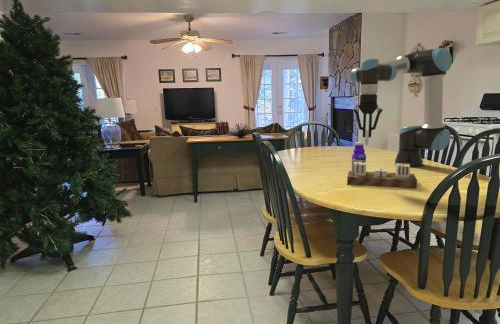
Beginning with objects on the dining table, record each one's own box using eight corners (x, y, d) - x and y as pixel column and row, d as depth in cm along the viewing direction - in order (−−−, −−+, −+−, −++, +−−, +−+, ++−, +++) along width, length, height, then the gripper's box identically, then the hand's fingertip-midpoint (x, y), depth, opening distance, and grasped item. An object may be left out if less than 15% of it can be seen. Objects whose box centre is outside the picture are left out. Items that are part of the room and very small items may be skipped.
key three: (396, 178, 153) (397, 165, 152) (395, 175, 158) (396, 162, 157) (409, 179, 151) (410, 165, 150) (408, 176, 156) (408, 163, 155)
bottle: (355, 176, 174) (356, 143, 170) (349, 174, 179) (350, 142, 176) (367, 175, 176) (368, 142, 172) (361, 172, 181) (362, 141, 178)
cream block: (374, 183, 157) (375, 170, 156) (374, 180, 162) (374, 167, 161) (386, 183, 155) (387, 170, 154) (386, 180, 160) (386, 168, 159)
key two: (353, 176, 160) (354, 163, 158) (354, 173, 165) (354, 161, 163) (365, 176, 158) (366, 163, 156) (365, 174, 163) (366, 161, 162)
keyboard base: (347, 184, 158) (347, 176, 157) (348, 178, 170) (349, 170, 169) (416, 188, 148) (417, 180, 147) (413, 181, 160) (413, 173, 159)
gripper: (353, 94, 151) (351, 145, 156) (384, 93, 147) (381, 145, 152) (354, 94, 158) (352, 143, 163) (383, 93, 154) (380, 143, 159)
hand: (366, 144), depth 157 cm, fingers closed
